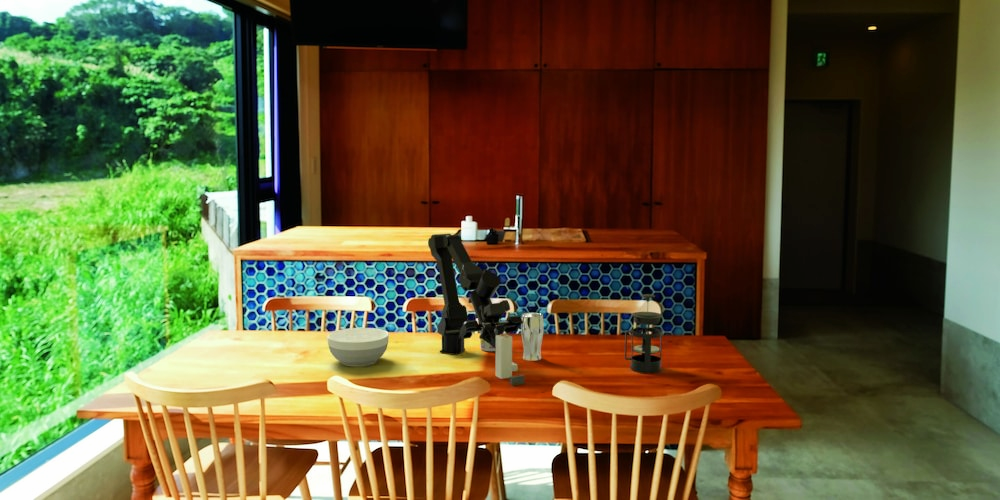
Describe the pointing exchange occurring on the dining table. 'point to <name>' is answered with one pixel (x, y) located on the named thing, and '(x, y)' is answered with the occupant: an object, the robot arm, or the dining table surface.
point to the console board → (516, 379)
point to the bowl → (358, 345)
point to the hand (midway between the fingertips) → (500, 351)
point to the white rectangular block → (503, 356)
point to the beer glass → (532, 335)
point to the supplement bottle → (487, 345)
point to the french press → (645, 342)
